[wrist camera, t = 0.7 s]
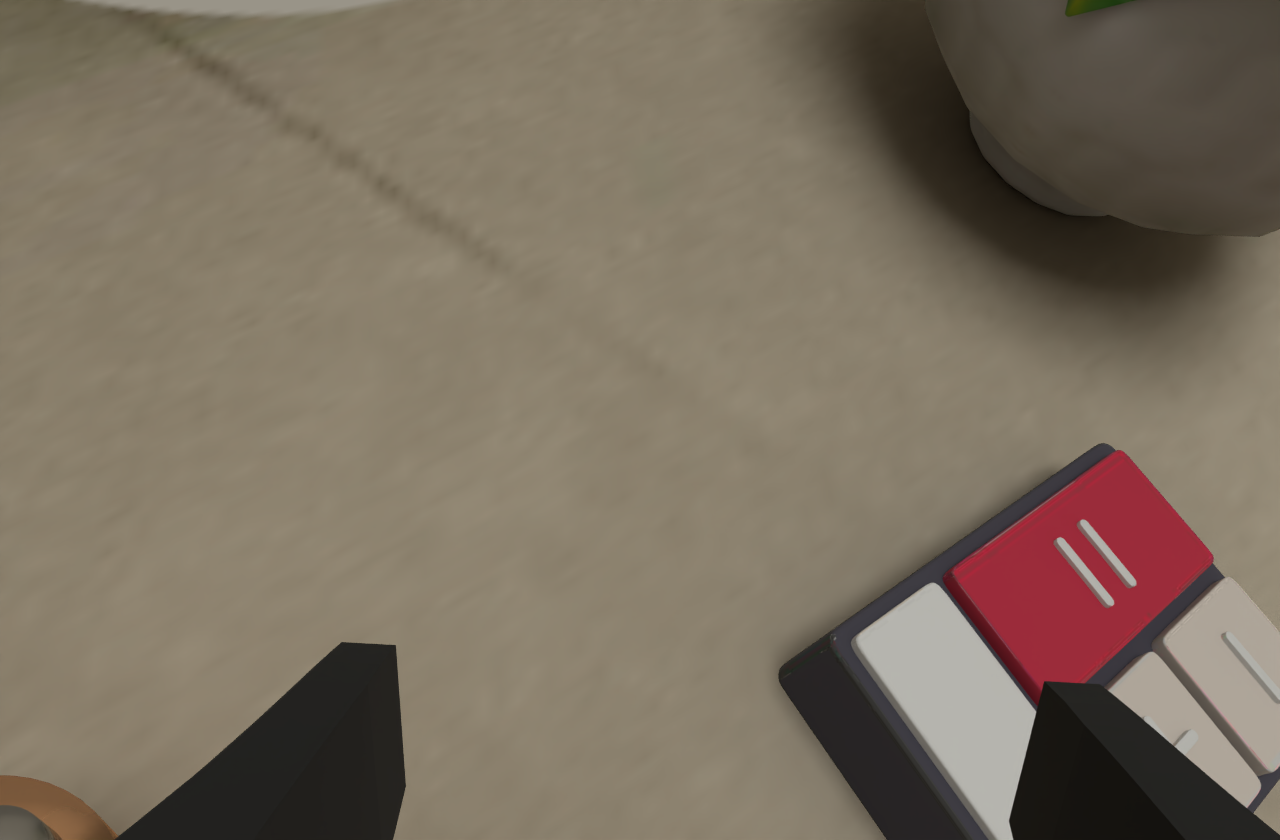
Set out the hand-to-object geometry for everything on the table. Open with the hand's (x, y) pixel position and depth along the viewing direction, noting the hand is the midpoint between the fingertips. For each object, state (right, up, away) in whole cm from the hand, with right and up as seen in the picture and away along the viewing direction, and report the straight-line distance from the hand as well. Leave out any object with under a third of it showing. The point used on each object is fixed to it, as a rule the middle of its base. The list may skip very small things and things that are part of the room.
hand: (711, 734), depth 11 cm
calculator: (+12, -6, +21) cm, 25 cm away
